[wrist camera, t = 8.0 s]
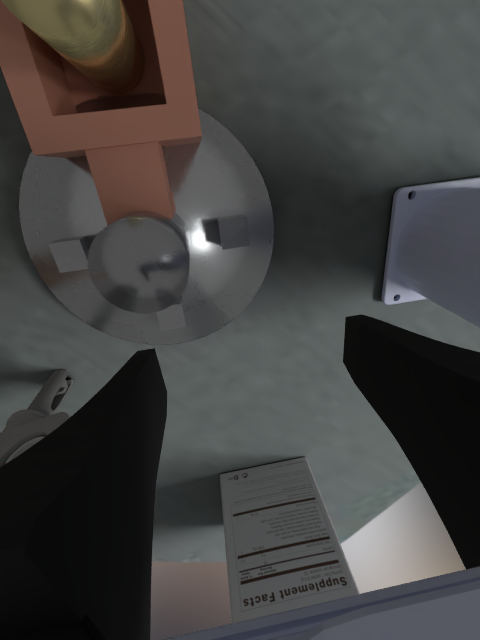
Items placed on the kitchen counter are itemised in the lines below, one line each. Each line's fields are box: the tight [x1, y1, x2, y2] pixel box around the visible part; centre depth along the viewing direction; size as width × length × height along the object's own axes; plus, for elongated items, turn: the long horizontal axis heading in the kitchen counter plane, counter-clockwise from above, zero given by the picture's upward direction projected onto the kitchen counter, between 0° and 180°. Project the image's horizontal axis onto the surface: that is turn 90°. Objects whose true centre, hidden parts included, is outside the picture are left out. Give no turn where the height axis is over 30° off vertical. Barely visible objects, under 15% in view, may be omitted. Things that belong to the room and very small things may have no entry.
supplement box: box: [220, 457, 360, 623], centre depth 25 cm, size 9×9×15 cm
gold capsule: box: [1, 0, 145, 95], centre depth 10 cm, size 3×3×7 cm
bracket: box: [0, 0, 202, 226], centre depth 13 cm, size 7×10×4 cm
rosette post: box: [19, 91, 274, 345], centre depth 15 cm, size 14×14×7 cm
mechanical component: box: [0, 369, 74, 467], centre depth 17 cm, size 3×10×10 cm, turn 108°
